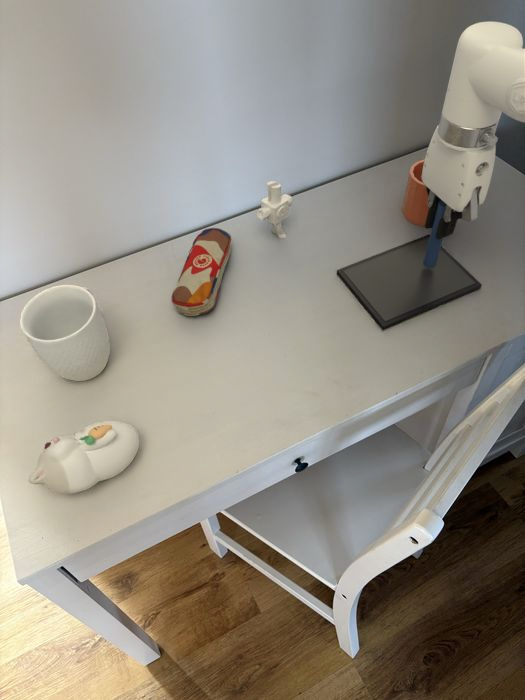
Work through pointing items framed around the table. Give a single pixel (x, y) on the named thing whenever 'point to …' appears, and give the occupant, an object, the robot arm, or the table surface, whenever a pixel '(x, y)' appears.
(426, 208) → the pen cup
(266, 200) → the toy robot
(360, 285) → the tablet
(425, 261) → the stylus
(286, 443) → the table surface
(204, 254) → the pencil case
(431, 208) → the robot arm
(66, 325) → the mug
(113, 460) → the cat figurine
